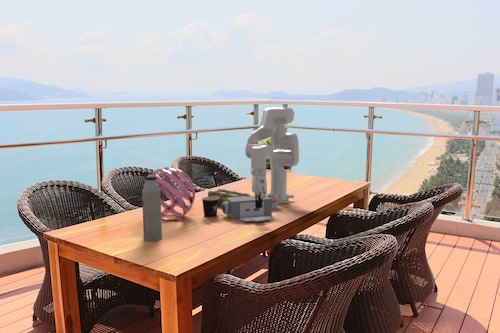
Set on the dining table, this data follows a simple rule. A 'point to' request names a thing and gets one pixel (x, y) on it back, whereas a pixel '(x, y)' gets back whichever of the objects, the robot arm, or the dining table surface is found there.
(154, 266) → the dining table surface
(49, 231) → the dining table surface
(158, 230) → the thermos bottle
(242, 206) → the block
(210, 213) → the coffee mug
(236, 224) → the dining table surface
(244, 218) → the side door
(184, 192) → the spiral basket
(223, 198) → the cage light
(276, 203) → the cupcake
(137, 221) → the dining table surface
